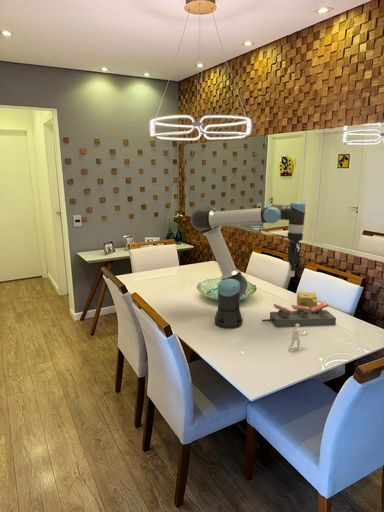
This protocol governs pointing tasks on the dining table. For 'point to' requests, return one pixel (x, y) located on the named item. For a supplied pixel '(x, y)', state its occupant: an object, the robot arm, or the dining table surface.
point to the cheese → (307, 299)
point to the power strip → (301, 318)
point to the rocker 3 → (319, 307)
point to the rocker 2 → (301, 307)
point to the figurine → (296, 338)
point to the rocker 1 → (282, 308)
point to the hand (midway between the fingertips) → (291, 276)
